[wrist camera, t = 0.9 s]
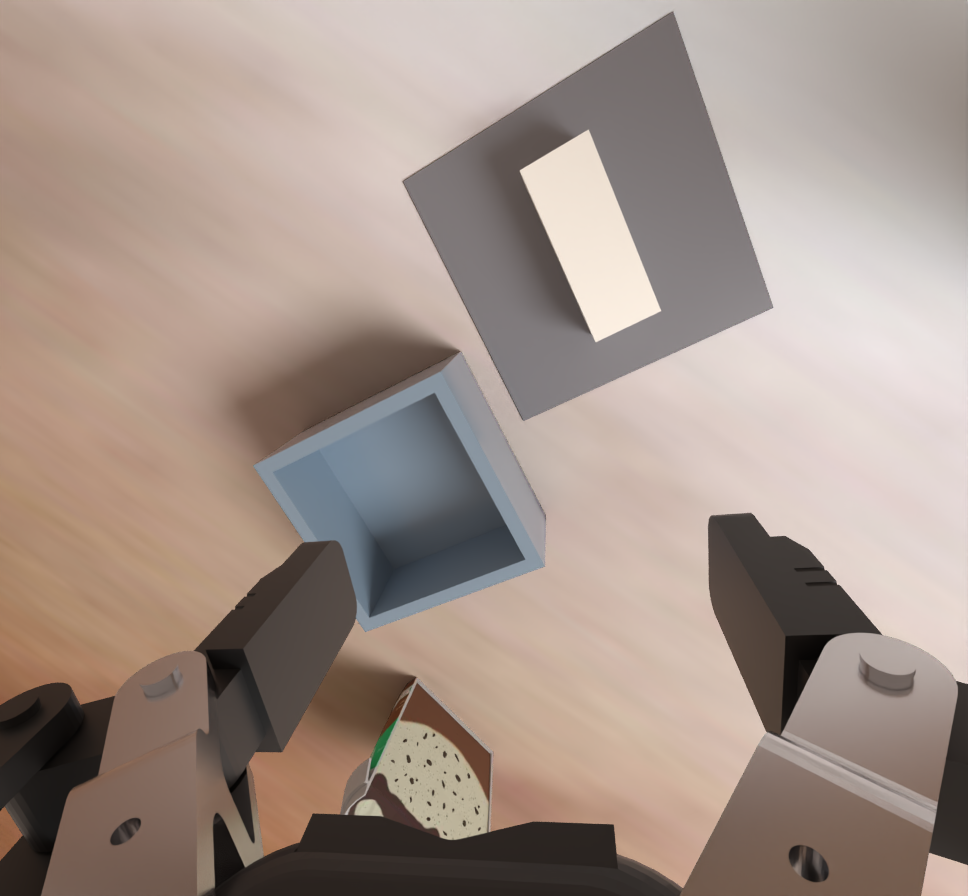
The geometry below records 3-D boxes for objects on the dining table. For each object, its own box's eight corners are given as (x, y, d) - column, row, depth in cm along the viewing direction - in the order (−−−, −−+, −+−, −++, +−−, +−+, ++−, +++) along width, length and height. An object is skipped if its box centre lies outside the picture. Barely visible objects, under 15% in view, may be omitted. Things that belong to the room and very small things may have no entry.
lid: (669, 19, 25) (689, -22, 21) (767, 306, 28) (798, 312, 25) (406, 183, 28) (386, 172, 25) (524, 417, 32) (521, 436, 29)
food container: (350, 698, 41) (291, 825, 32) (403, 664, 40) (358, 788, 30) (450, 791, 44) (423, 935, 34) (505, 763, 42) (492, 908, 32)
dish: (460, 351, 31) (440, 371, 25) (545, 515, 34) (544, 566, 28) (302, 431, 34) (253, 465, 28) (393, 575, 37) (365, 631, 31)
